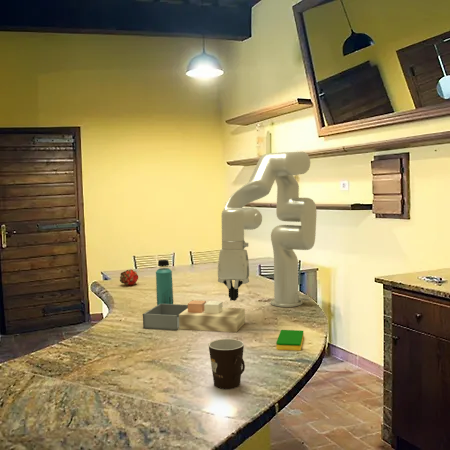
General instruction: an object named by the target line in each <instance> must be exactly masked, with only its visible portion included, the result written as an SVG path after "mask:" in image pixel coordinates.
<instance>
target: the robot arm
mask: <svg viewBox="0 0 450 450" xmlns="http://www.w3.org/2000/svg"><path fill="white" fill-rule="evenodd" d="M310 167H311V158H310V156H309V154H308V153H307V152H306V151H290V152H289V151H287V152H286V151H284V152H271V153H270V152H269V153H265V154H263V155H261V156H260V158H259V159H258V161H257V163H256V165H255V167H254V169H253V172H252V174H251V176H250V179H249V181H248V182H247V183H245V184H244V185H242V186H241V187H240V188H239V189H237V190H236V191H235V192H234V193H232V194H231V195H230V197H229V198H228V200H227V202H226V204H225V205H224V207H223V210H222V212H221V249H220V250H219V254H218V260H217V261H218V263H217V277H218V278H217V282H218V283H220V284H224V285H225V286H226V287H227V289H228V298H229V301H233V302H235V301H237V299H238V298H239V288H240V287H241V286H242V285H245V284H246V285H247V284H249V282H250V279H249V276H250V264H249V263H250V262H249V255H248V251H247V249H246V248H248V247H249V242H246V241H245V230H247V231H248V230H249V231H250V230H252V231H253V230H256V229H258V228H259V227H260V226H261V225H262V222H263V215H262V213H261V211H259V209H257V208H254V207H245V206H246V205H248V204H250V203H252V202H254V201H258V200H260V199H263V198H265V197H267V196H268V195H269V194H270V192H271V190H272V188H273V185H274V183H275V182H276V187H277V191H276V207H275V208H276V214H275V215H276V217H277V219H278V220H279V221H282V222H290V223H291V222H293V223H295V222H296V223H300V225H297V224H279V225H277V226H275V227H273V229H272V230H271V232H270V233H271V234H270V241H271V245H272V249H273V251H272V252H273V279H274V281H273V284H274V285H273V287H274V288H273V291H274V296H273V297H274V298H272V299H271V300H270V305H272V306H275V307H281V308H292V307H293V308H294V307H299V306H302V304H303V301H310V295H307V294H301V291H299V260H298V257H297V255H296V252H295V251H294V250H296V251H297V250H299V251H308V250H311V249H312V248H313V247H314V245H315V242H316V233H317V232H316V229H317V212H318V210H317V206H316V203H315V200H313V199H312V198H310V197H299V195H300V193H299V192H300V186H299V182H298V180H297V179H296V177H295V176H298V175H304V174H306V173H307V172H308V171H309V170H310ZM233 281H234V283H233Z"/></svg>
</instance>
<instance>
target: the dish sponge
mask: <svg viewBox="0 0 450 450" xmlns="http://www.w3.org/2000/svg"><path fill="white" fill-rule="evenodd" d="M304 334H305V333H304V330H297V329H296V330H295V329H281V330H280V332H279V334H278V338H277V340H276V347H275V348H276V350H277V351H278V350H279V351H297V352H299V351H302V346H303V341H304V337H305V336H304Z"/></svg>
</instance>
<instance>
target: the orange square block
mask: <svg viewBox="0 0 450 450" xmlns="http://www.w3.org/2000/svg"><path fill="white" fill-rule="evenodd" d="M205 303H207V300H191V301H190V302H187V305H188V312H193V313H202V312H203V311H204V304H205Z"/></svg>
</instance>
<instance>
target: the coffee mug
mask: <svg viewBox="0 0 450 450" xmlns="http://www.w3.org/2000/svg"><path fill="white" fill-rule="evenodd" d="M244 346H245V343H244V342H243V340H239V339H234V338H221V339H216V340H213V341H210V342H209V343H208V350H209V357H210V358H209V359H210V366H211V372H212V378H213V385H214V387H215V388H217V389H221V390H233V389H237V388H238V387H240V385H241V379H242V374H243V373H244V372H245V370H246V368H245V367H246V365H245V360H244V359H243V358H244V357H243V356H244Z"/></svg>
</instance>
